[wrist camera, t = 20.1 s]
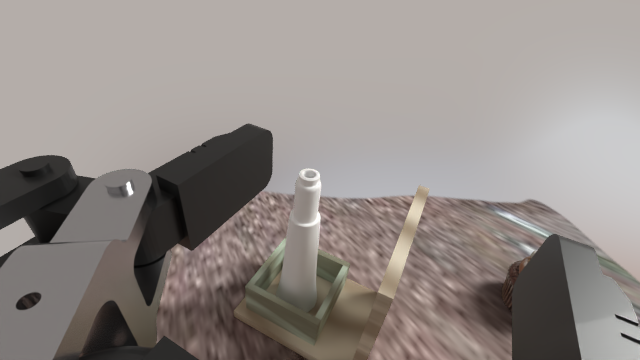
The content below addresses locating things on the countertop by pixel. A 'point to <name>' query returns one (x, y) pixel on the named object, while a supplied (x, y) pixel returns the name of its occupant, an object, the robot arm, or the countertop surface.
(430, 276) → the countertop surface
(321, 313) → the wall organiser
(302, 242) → the cosmetic bottle
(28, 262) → the robot arm
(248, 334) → the countertop surface
